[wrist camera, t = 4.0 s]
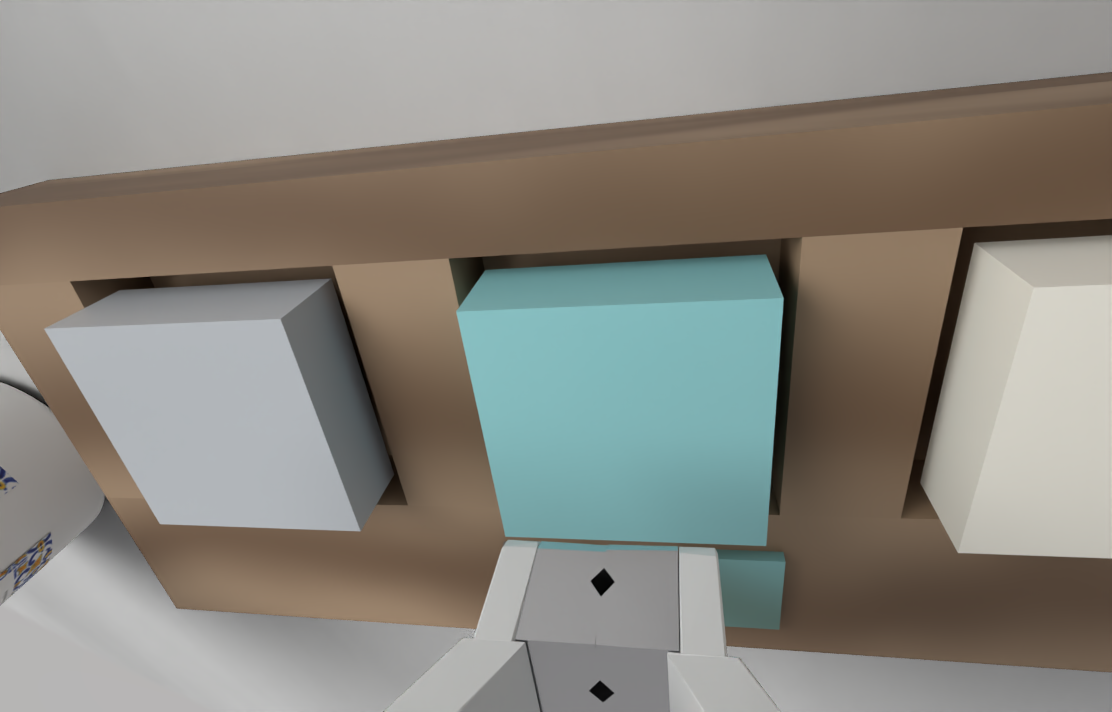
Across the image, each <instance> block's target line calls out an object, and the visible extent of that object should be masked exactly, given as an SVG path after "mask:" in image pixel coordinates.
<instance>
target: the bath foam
mask: <svg viewBox="0 0 1112 712" xmlns="http://www.w3.org/2000/svg"><path fill="white" fill-rule="evenodd" d="M104 499H105V494H104V493H103V491H102V490H101V488H100V486H99V485H98V483H97V482H96V480H95V479H94V477H93V475H92V474H91V472H90V471H89V469H88V467H87V466H86V464H85V463H84V461H83V460H82V458H81V456H80V455H79V453H78V452H77V450H76V449H75V447H74V445H73V444H72V442H71V441H70V439H69V438H68V436H67V434H66V433H65V431H64V430H63V428H62V426H61V425H60V423H59V422H58V420H57V419H56V417H55V415H54V414H53V412H52V411H51V409H50V408H49V407H47V406H46V405H44V404H43V403H41V402H40V401H38V400H37V399H35V398H33V397H32V396H30V395H28V394H26V393H24V392H22V391H20V390H18V389H16V388H14V387H12V386H9V385H7V384H4V383H1V382H0V605H1V604H2V603H4V602H5V601H6V600H7V599H8V598H9V597H10V596H11V595H13V594H14V593H15V592H16V591H17V590H18V589H19V588H20V587H22V586H23V585H24V584H25V583H26V582H27V581H28V580H29V579H31V578H32V577H33V576H34V575H35V574H36V573H37V572H38V571H39V570H41V569H42V568H43V567H44V566H45V565H46V564H47V563H48V562H49V561H50V560H51V559H52V558H53V557H54V556H55V555H57V554H58V553H59V552H60V551H61V550H62V549H63V548H64V547H66V546H67V545H68V544H69V543H70V542H71V541H72V540H73V539H75V538H76V537H77V536H78V535H79V534H80V533H81V532H82V531H83V530H85V529H86V528H87V527H88V526H89V525H90V524H91V523H92V522H93V521H94V520H95V519H96V517H97V516H98V514H99V513H100V511H101V509H102V506H103V503H104Z"/></svg>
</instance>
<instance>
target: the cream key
mask: <svg viewBox="0 0 1112 712" xmlns="http://www.w3.org/2000/svg"><path fill="white" fill-rule="evenodd" d="M920 483H921V485H922V487H923V489H924V491H925V493H926V494H927V496H928V498H929V500H930V502H931V504H932V506H933V507H934V509H935V511H936V513H937V515H938V517H939V519H940V521H941V522H942V524H943V526H944V528H945V530H946V532H947V534H948V535H949V537H950V539H951V541H952V543H953V545H954V547H955V548H956V550H957V552H958V553H973V554H1001V555H1029V556H1056V557H1084V558H1112V235H1105V236H1087V237H1069V238H1051V239H1033V240H1015V241H997V242H979V243H974V247H973V251H972V256H971V260H970V265H969V269H968V273H967V278H966V282H965V287H964V291H963V296H962V300H961V304H960V309H959V313H958V318H957V322H956V326H955V331H954V335H953V340H952V344H951V349H950V353H949V357H948V362H947V366H946V371H945V375H944V379H943V384H942V388H941V393H940V397H939V402H938V406H937V410H936V415H935V419H934V424H933V428H932V432H931V437H930V441H929V446H928V450H927V455H926V459H925V463H924V468H923V472H922V477H921V481H920Z"/></svg>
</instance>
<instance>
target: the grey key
mask: <svg viewBox="0 0 1112 712" xmlns="http://www.w3.org/2000/svg"><path fill="white" fill-rule="evenodd" d="M44 330H45V331H46V333H47V335H48V336H49V338H50V340H51V341H52V343H53V345H54V346H55V348H56V350H57V352H58V353H59V355H60V357H61V358H62V360H63V362H64V363H65V365H66V367H67V368H68V370H69V372H70V373H71V375H72V377H73V378H74V380H75V382H76V384H77V385H78V387H79V389H80V390H81V392H82V394H83V395H84V397H85V399H86V400H87V402H88V404H89V405H90V407H91V409H92V410H93V412H94V414H95V416H96V417H97V419H98V421H99V422H100V424H101V426H102V427H103V429H104V431H105V432H106V434H107V436H108V437H109V439H110V441H111V442H112V444H113V446H114V448H115V449H116V451H117V453H118V454H119V456H120V458H121V459H122V461H123V463H124V464H125V466H126V468H127V469H128V471H129V473H130V474H131V476H132V478H133V480H134V481H135V483H136V485H137V486H138V488H139V490H140V491H141V493H142V495H143V496H144V498H145V500H146V501H147V503H148V505H149V507H150V508H151V510H152V512H153V513H154V515H155V517H156V518H157V520H158V522H159V523H160V524H171V525H198V526H226V527H254V528H281V529H309V530H337V531H361V530H362V528H363V526H364V525H365V523H366V521H367V520H368V518H369V516H370V515H371V513H372V511H373V510H374V508H375V506H376V504H377V503H378V501H379V499H380V498H381V496H382V494H383V493H384V491H385V489H386V488H387V486H388V484H389V482H390V481H391V479H392V477H393V476H394V472H393V469H392V466H391V463H390V460H389V457H388V454H387V450H386V447H385V444H384V441H383V438H382V435H381V432H380V429H379V425H378V422H377V419H376V416H375V413H374V410H373V407H372V404H371V400H370V397H369V394H368V391H367V388H366V385H365V382H364V379H363V375H362V372H361V369H360V366H359V363H358V360H357V357H356V354H355V350H354V347H353V344H352V341H351V338H350V335H349V332H348V329H347V326H346V322H345V319H344V316H343V313H342V310H341V307H340V304H339V301H338V297H337V294H336V291H335V288H334V285H333V282H332V279H331V278H330V279H312V280H294V281H276V282H258V283H240V284H222V285H204V286H186V287H168V288H150V289H132V290H119V291H117V292H115V293H113V294H111V295H109V296H107V297H105V298H103V299H101V300H100V301H98V302H96V303H94V304H92V305H90V306H88V307H86V308H84V309H82V310H80V311H78V312H76V313H74V314H72V315H70V316H68V317H66V318H64V319H62V320H60V321H58V322H56V323H54V324H52V325H50V326H48V327H47V328H45V329H44Z"/></svg>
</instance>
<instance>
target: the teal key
mask: <svg viewBox="0 0 1112 712" xmlns="http://www.w3.org/2000/svg"><path fill="white" fill-rule="evenodd" d="M783 300H784V298H783V295H782V293H781V290H780V288H779V285H778V283H777V280H776V278H775V275H774V273H773V271H772V268H771V266H770V263H769V261H768V258H767V256H766V254H763V255H745V256H727V257H709V258H691V259H673V260H655V261H637V262H619V263H601V264H583V265H565V266H547V267H529V268H511V269H493V270H485V271H484V273H483V274H482V276H481V277H480V278H479V280H478V281H477V283H476V284H475V286H474V287H473V288H472V290H471V291H470V293H469V294H468V296H467V297H466V298H465V300H464V301H463V303H462V304H461V305H460V307H459V308H458V310H457V311H456V313H457V318H458V322H459V327H460V332H461V336H462V341H463V345H464V350H465V354H466V359H467V364H468V368H469V373H470V377H471V382H472V386H473V391H474V395H475V400H476V405H477V409H478V414H479V418H480V423H481V427H482V432H483V436H484V441H485V446H486V450H487V455H488V459H489V464H490V468H491V473H492V478H493V482H494V487H495V491H496V496H497V500H498V505H499V509H500V514H501V519H502V523H503V528H504V532H505V537H530V538H558V539H586V540H613V541H641V542H669V543H696V544H724V545H752V546H766V542H767V528H768V514H769V500H770V485H771V471H772V457H773V443H774V428H775V414H776V400H777V386H778V372H779V357H780V343H781V329H782V315H783Z"/></svg>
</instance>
